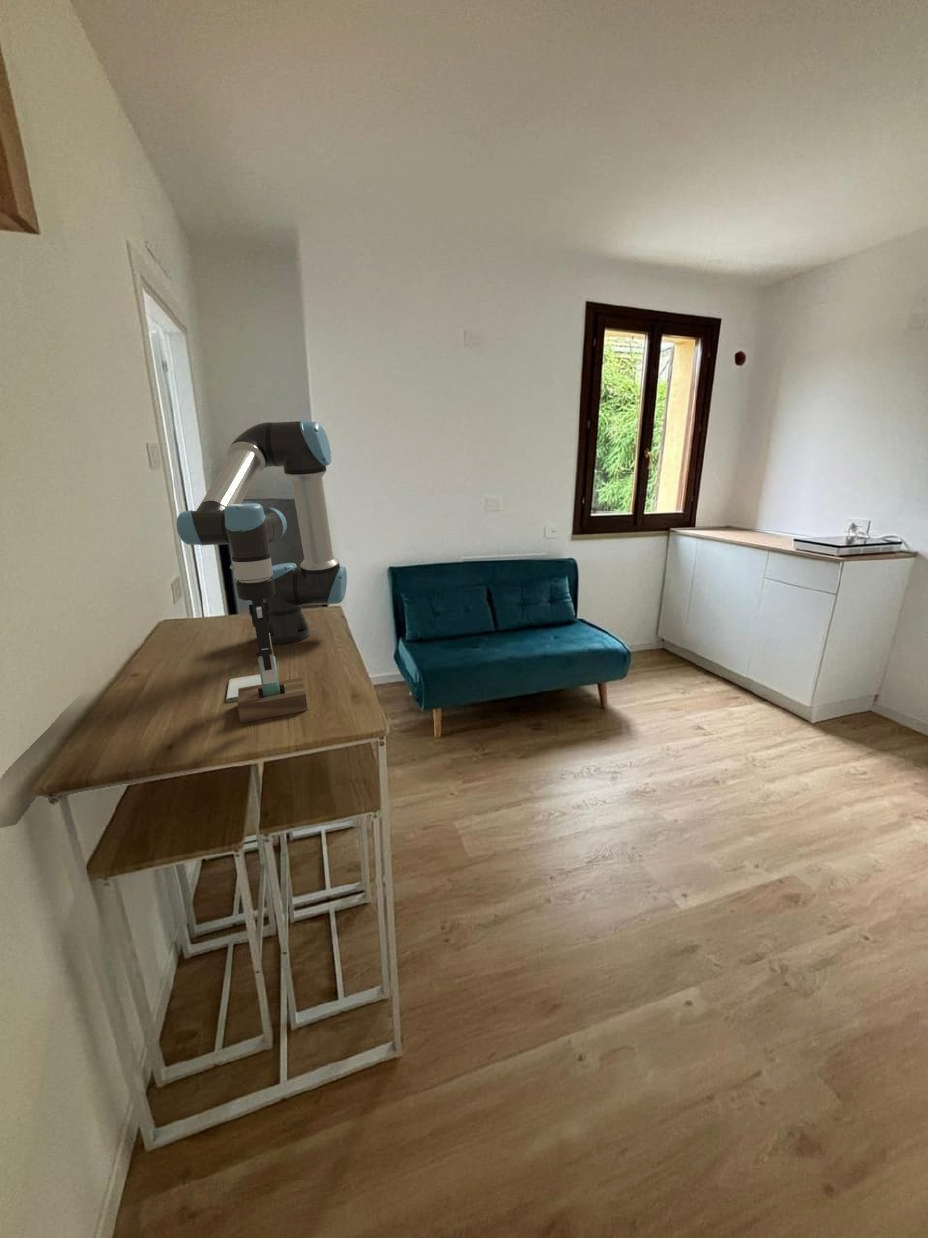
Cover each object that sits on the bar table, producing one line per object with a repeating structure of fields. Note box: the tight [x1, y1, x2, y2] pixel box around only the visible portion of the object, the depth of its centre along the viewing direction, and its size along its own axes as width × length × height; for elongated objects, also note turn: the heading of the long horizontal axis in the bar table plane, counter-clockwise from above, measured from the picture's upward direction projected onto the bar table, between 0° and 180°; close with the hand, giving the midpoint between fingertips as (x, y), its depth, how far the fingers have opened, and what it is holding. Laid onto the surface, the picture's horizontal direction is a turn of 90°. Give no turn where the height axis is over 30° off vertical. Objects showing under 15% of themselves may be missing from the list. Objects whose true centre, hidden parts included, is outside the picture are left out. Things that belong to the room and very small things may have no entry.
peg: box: [257, 655, 280, 697], centre depth 115 cm, size 4×4×12 cm
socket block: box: [237, 677, 308, 724], centre depth 116 cm, size 10×14×4 cm
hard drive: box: [225, 674, 262, 703], centre depth 127 cm, size 2×8×12 cm
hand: (269, 671), depth 115 cm, fingers open, 13 cm apart
